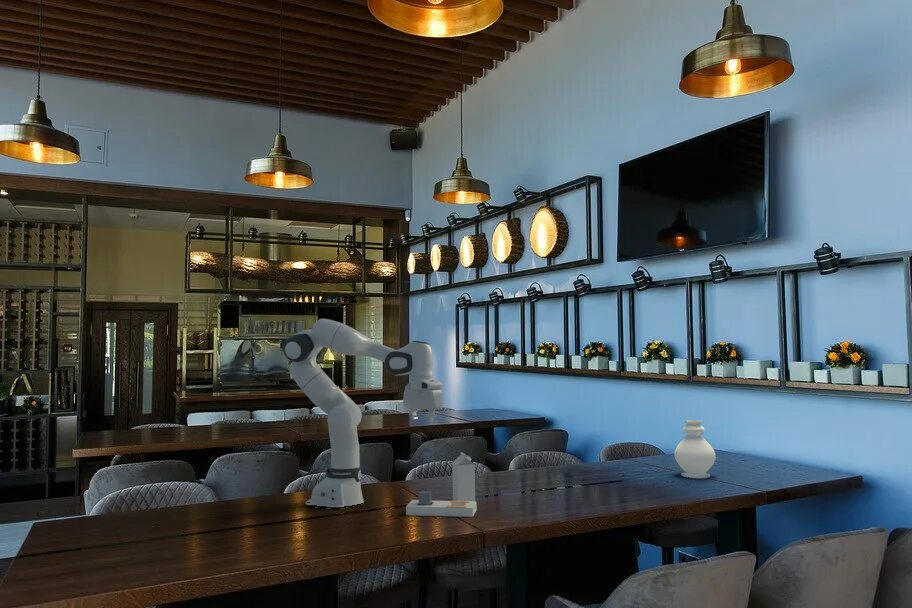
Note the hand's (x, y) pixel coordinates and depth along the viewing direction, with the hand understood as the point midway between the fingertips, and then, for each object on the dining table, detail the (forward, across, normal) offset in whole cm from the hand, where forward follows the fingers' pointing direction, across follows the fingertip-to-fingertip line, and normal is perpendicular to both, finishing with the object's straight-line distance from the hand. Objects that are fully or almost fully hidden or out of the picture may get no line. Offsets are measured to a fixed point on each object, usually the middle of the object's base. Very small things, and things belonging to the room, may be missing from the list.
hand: (422, 420), depth 248 cm
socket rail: (+33, +10, 0) cm, 35 cm away
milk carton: (+33, +1, +19) cm, 38 cm away
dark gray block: (+32, +5, -4) cm, 33 cm away
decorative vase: (+35, +35, +130) cm, 139 cm away
